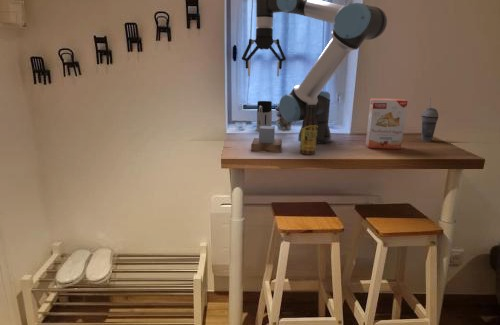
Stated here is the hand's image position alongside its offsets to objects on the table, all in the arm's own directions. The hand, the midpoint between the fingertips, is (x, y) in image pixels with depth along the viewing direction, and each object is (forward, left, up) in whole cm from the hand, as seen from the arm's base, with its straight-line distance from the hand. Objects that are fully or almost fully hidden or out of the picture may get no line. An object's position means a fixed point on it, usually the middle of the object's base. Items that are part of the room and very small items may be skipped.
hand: (263, 76), depth 172 cm
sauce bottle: (-21, +30, -29) cm, 47 cm away
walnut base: (-4, +24, -29) cm, 38 cm away
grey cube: (-4, +24, -26) cm, 35 cm away
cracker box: (-54, +14, -29) cm, 63 cm away
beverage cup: (-78, -4, -29) cm, 83 cm away
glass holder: (+1, -15, -29) cm, 33 cm away
